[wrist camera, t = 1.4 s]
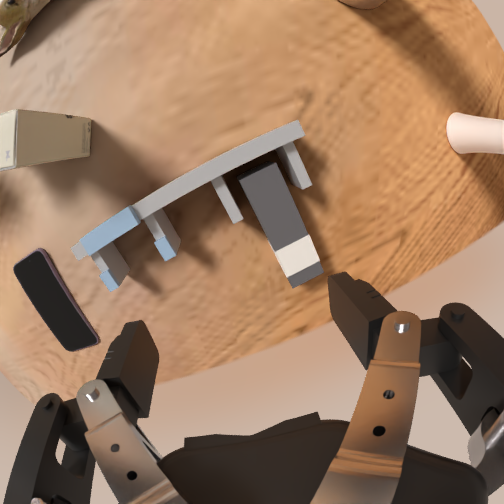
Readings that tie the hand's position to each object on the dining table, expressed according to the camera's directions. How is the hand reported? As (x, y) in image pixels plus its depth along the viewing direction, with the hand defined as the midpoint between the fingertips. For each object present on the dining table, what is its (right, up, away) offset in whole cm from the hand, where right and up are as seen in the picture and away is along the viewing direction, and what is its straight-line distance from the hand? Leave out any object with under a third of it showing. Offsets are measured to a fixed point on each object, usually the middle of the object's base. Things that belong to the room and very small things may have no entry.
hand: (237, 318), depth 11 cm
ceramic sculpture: (-27, +35, +4) cm, 44 cm away
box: (-19, +15, +12) cm, 27 cm away
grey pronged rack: (-6, +8, +17) cm, 19 cm away
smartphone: (-26, -4, +19) cm, 32 cm away
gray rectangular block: (+3, +6, +18) cm, 20 cm away
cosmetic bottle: (+30, +19, +17) cm, 39 cm away
